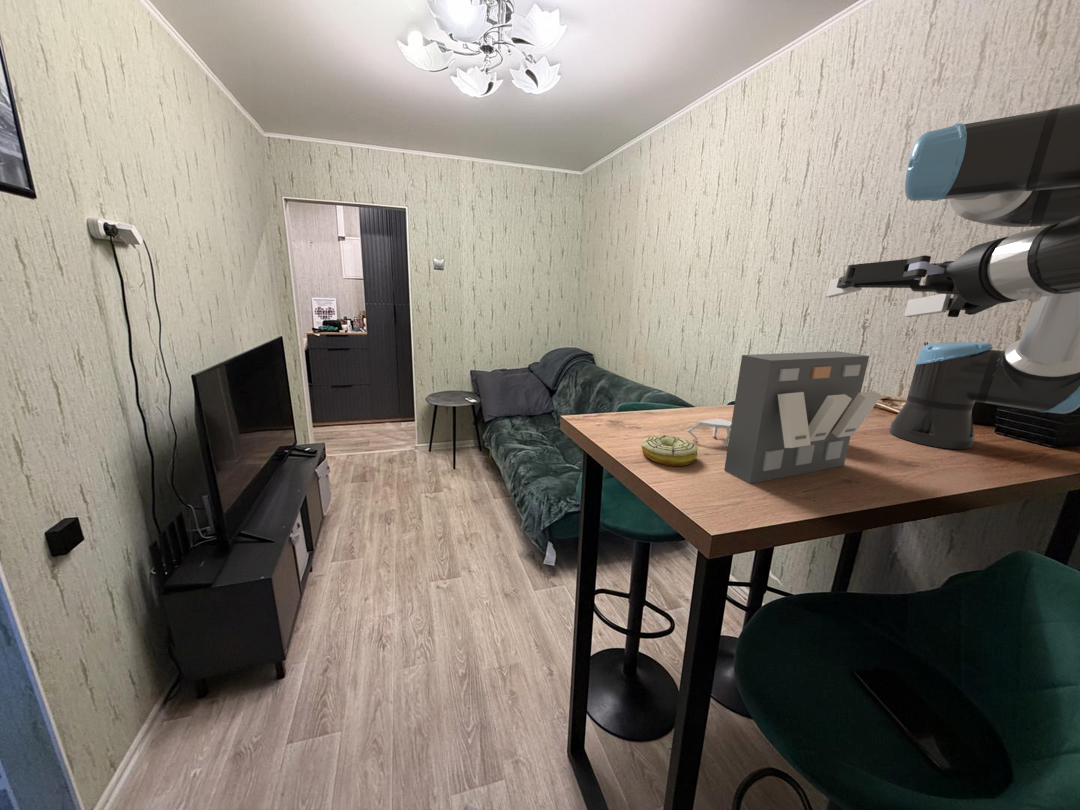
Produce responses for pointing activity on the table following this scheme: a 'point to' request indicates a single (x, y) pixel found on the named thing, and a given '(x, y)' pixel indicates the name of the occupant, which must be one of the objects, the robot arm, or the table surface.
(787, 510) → the table surface
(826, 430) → the middle rocker
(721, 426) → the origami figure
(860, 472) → the table surface
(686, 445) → the decorated donut
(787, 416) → the rocker
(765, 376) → the power box
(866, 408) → the bar
